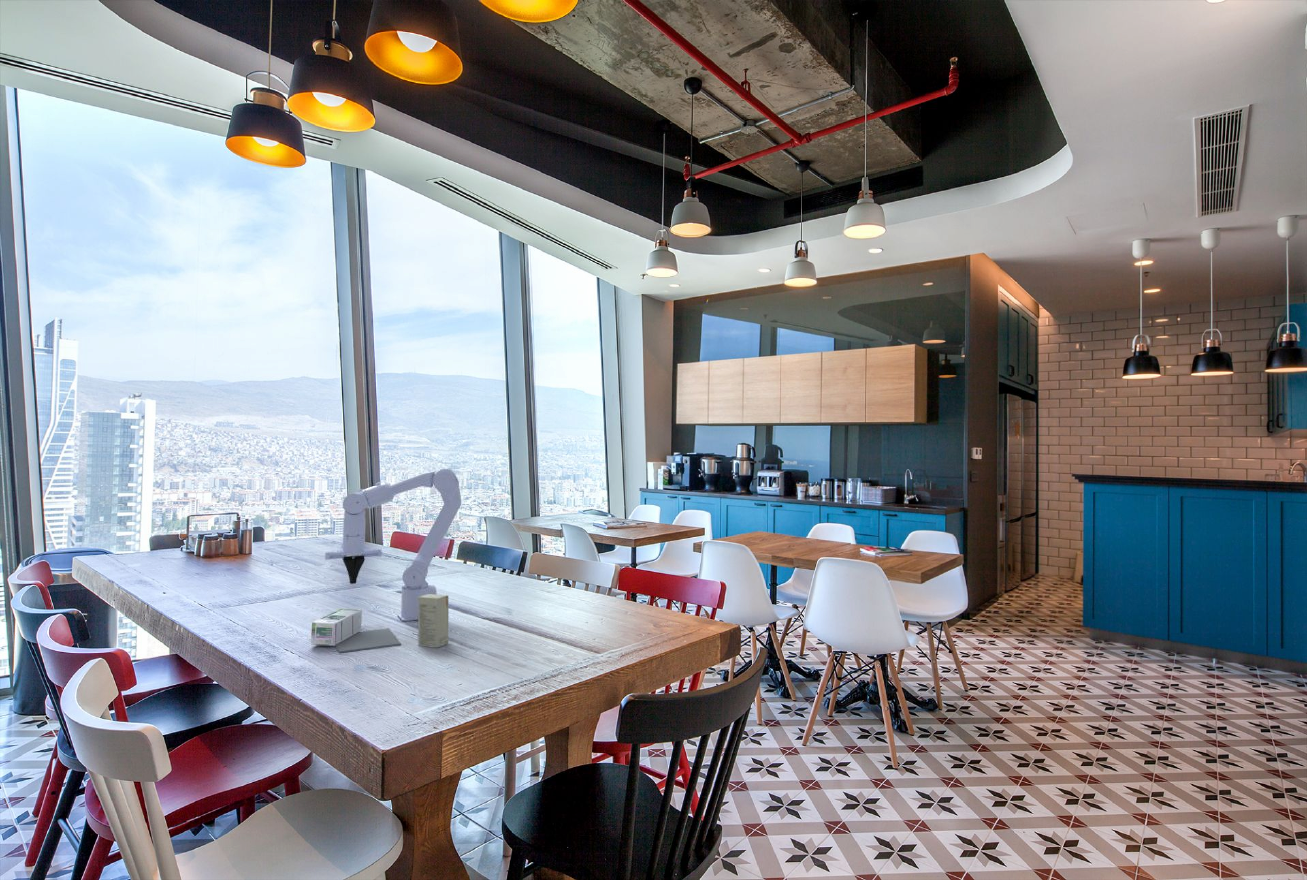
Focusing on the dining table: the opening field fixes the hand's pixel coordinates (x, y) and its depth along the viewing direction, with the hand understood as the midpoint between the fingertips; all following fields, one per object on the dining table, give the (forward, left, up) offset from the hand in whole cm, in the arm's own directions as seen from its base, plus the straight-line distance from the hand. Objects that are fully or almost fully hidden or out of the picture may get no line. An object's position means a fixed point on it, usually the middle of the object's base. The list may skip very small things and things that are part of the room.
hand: (352, 583), depth 187 cm
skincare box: (-14, +35, -11) cm, 39 cm away
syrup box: (+2, +13, -7) cm, 15 cm away
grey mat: (0, +24, -10) cm, 26 cm away
